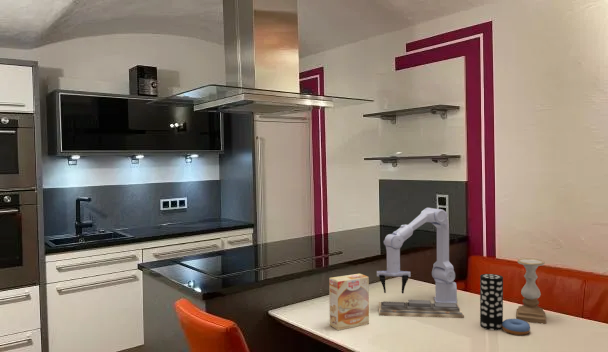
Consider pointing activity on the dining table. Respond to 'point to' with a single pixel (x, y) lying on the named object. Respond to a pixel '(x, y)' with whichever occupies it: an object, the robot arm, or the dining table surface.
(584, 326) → the dining table surface
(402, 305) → the key
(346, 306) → the coffeecake box
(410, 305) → the key middle
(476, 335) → the dining table surface
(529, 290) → the candle holder
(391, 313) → the switch unit
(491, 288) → the spotted tube
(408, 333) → the dining table surface
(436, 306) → the key
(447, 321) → the dining table surface
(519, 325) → the doughnut
